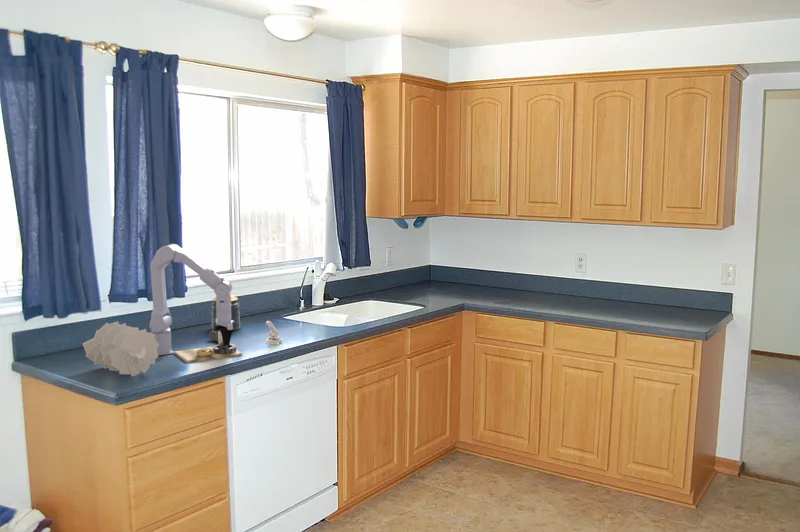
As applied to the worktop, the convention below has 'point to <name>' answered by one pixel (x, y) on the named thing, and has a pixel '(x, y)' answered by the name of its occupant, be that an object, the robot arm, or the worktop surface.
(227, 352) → the socket large
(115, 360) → the spiral staircase
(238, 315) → the canister
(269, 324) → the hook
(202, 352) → the plug small
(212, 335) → the pipe
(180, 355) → the fitting board
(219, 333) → the pipe stub
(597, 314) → the worktop surface
